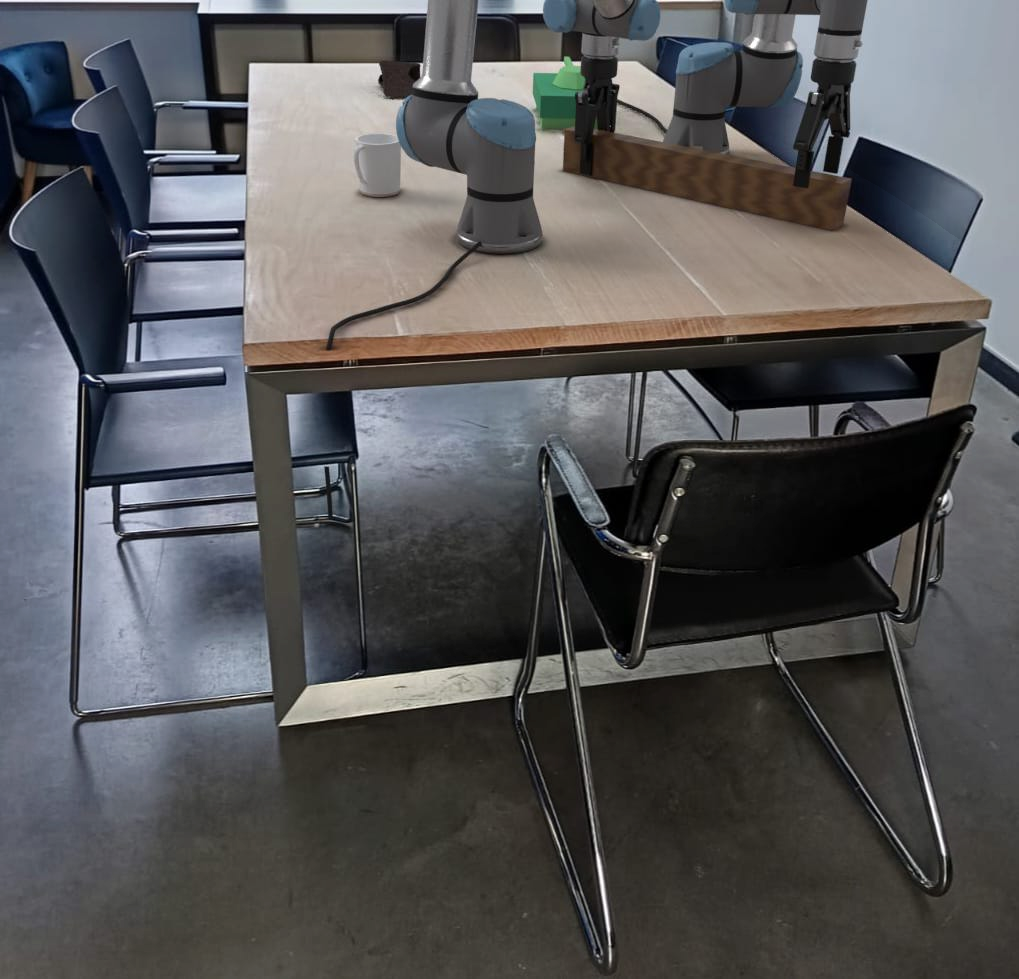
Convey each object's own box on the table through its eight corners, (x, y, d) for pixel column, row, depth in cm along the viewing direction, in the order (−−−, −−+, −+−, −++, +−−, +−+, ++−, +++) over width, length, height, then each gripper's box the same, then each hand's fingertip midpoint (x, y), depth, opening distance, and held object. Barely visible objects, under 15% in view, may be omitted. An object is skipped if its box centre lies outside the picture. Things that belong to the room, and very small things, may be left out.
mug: (380, 182, 225) (378, 131, 219) (411, 190, 220) (410, 138, 215) (340, 193, 218) (337, 140, 212) (372, 202, 213) (370, 149, 207)
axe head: (443, 87, 294) (392, 77, 287) (436, 115, 299) (385, 106, 292) (421, 62, 307) (371, 52, 300) (414, 89, 311) (365, 80, 304)
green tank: (599, 53, 287) (616, 80, 258) (595, 101, 294) (612, 133, 264) (532, 51, 286) (541, 79, 257) (530, 100, 293) (539, 132, 263)
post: (562, 171, 235) (564, 129, 231) (574, 166, 239) (576, 125, 234) (833, 230, 204) (842, 183, 200) (843, 224, 207) (851, 178, 203)
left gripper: (591, 64, 213) (584, 183, 226) (638, 52, 226) (629, 166, 238) (559, 59, 217) (554, 177, 229) (607, 47, 229) (600, 160, 242)
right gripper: (827, 70, 183) (807, 197, 194) (881, 52, 200) (860, 169, 211) (785, 65, 187) (768, 189, 198) (842, 48, 204) (823, 163, 215)
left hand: (592, 171), depth 234 cm, fingers closed on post, 5 cm apart
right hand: (815, 179), depth 204 cm, fingers open, 13 cm apart
